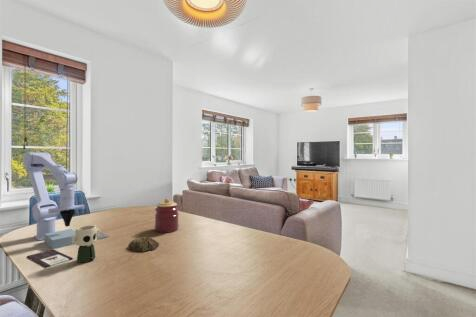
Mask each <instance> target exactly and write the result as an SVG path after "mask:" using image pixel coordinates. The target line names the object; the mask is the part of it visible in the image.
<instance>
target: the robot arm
mask: <svg viewBox="0 0 476 317" xmlns="http://www.w3.org/2000/svg"><path fill="white" fill-rule="evenodd" d="M22 161H23V165H24V168H25V170H26V171H27V172H28V175H29V178H30V179H29V180H30V183H31V185H32V189H33V192H34V196H35V200H36V203H35V204H34V205H33V206H32V208H31V210H32V218H33V219H34V220H35V222H36V235H34V236H33V237H34V238H35V240H37V241H43V240H44V234H46V233H51V232H56V220H57V218H58V216H59V215H60V216H61V217H62V220H63V223H64V227H70V225H71V221H72V218H73V216H74V215H75V213H76V210H85V208H86V207H85V206H86V205H85V204H75V185H76V184H77V182H78V175H77V173H76V172H71V171H69V170H68V169H67V168H65V166H63V165H62V164H57V163H56V162H55V161H54V160H53V159H52V155H51V154H50V153H49V152H48V151H46V152H32V151H31V152H30V151H27V152H25V153H24V154H23V158H22ZM46 168H47V169H48V170H49V173H50V174H51V175H52V176H53V177H54V178H55V179H56V182H57V185H58V189H59V206H58V204H57V202H56V201H54V200H52V199H50V196H49V192H48V190H47V186H46V183H45V178H44V175H43V172H42V171H44V170H46Z"/></svg>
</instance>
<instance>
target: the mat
mask: <svg viewBox="0 0 476 317" xmlns="http://www.w3.org/2000/svg"><path fill="white" fill-rule="evenodd" d="M99 233H100V236H99V237H97V240H101V239H105V238H109V237H110V236H109V235H107V234H105V233H103V232H101V231H99ZM97 240H96V241H97Z"/></svg>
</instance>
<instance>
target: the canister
mask: <svg viewBox="0 0 476 317" xmlns="http://www.w3.org/2000/svg"><path fill="white" fill-rule="evenodd" d="M179 209H180V208H179V207H178V203H176V202H175V201H173V200H170V198H168V197H166V198H165V199H164V201H160V202H158V203H157V204H156V207H155V208H154V211H155V214H154V217H155V218H154V222H155V223H154V231H156V232H157V233H172V232H175V231H178V230H179V226H180V225H179Z"/></svg>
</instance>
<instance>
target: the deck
mask: <svg viewBox="0 0 476 317" xmlns="http://www.w3.org/2000/svg"><path fill="white" fill-rule="evenodd" d="M73 235H76V230H73V229H72V228H69V229H63V230H58V231H57V230H56V231H55V232H51V233H46V234H44V243H45V244H46V245H47V246H48V247H49V248H51V249H53V250H57V249H60V248H64V246H65V247H67V246H72V245H76V243H75V244H72V236H73ZM75 241H76V237H75Z"/></svg>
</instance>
